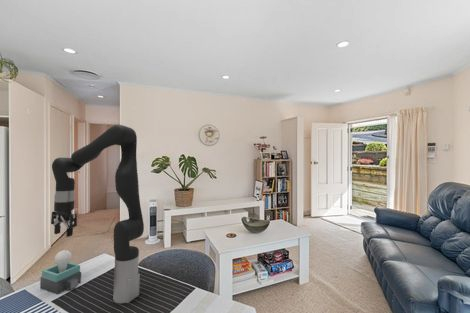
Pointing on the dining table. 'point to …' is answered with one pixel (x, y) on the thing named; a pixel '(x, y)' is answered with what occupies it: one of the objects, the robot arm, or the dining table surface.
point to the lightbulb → (62, 259)
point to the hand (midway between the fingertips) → (63, 234)
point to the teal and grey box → (60, 278)
